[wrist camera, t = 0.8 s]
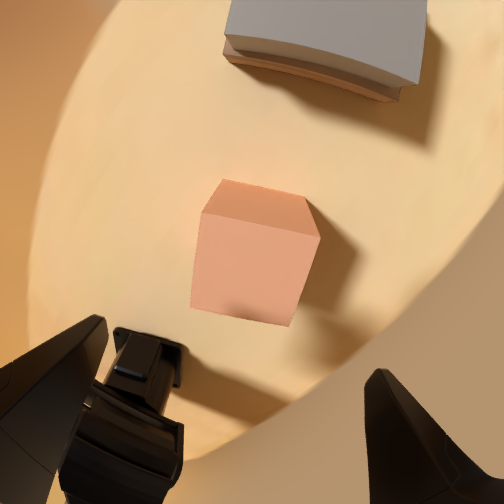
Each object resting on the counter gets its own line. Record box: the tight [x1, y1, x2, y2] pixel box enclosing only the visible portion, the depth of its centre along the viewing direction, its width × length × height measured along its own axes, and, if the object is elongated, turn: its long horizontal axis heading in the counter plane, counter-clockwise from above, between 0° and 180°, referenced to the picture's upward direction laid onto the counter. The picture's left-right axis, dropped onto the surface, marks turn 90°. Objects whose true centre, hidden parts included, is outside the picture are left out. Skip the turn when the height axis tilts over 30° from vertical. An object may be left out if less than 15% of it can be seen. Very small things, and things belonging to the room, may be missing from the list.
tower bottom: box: [223, 38, 401, 102], centre depth 11 cm, size 9×9×3 cm
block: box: [190, 179, 321, 327], centre depth 15 cm, size 5×5×6 cm
